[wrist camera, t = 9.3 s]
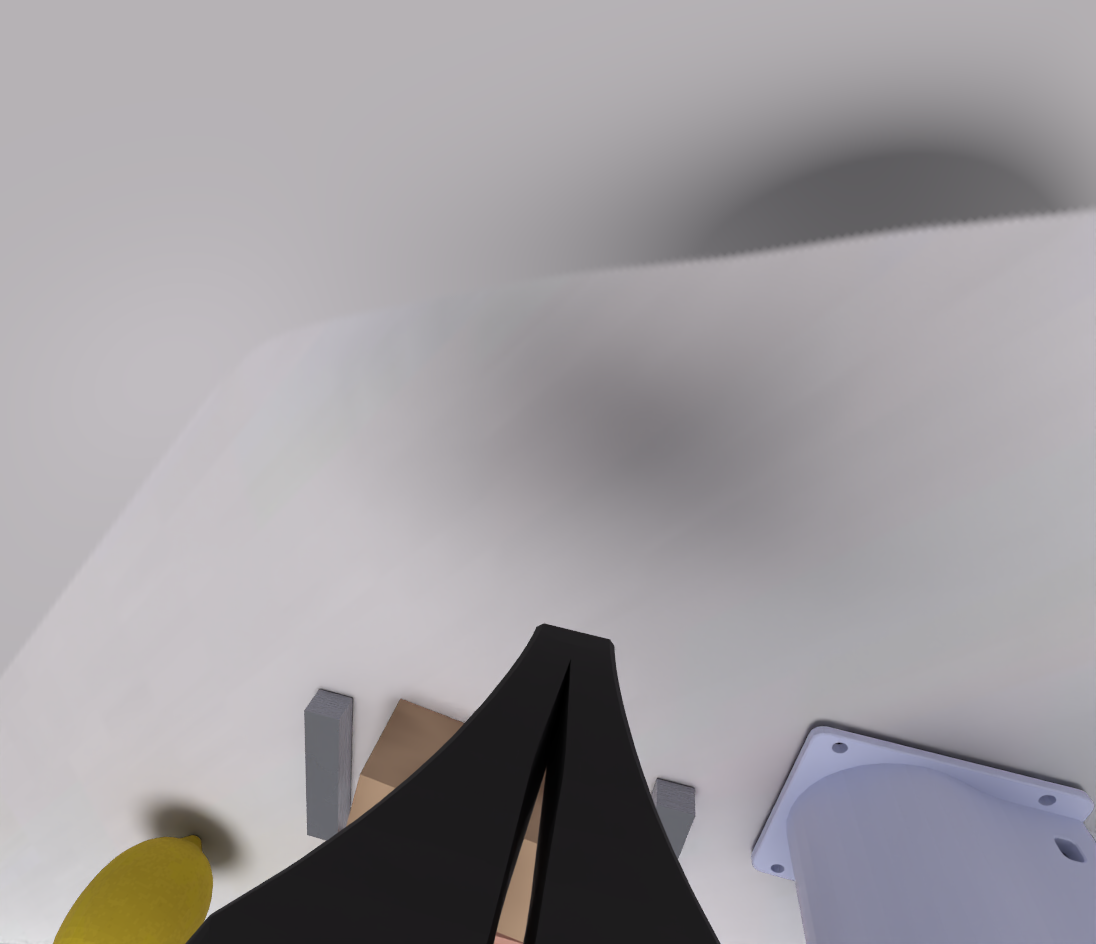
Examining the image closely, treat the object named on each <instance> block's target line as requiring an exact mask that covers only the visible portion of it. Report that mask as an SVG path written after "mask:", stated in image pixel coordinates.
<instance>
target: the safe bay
mask: <svg viewBox="0 0 1096 944" xmlns="http://www.w3.org/2000/svg"><path fill="white" fill-rule="evenodd" d="M352 704H353V698H351V697H347V696H343V695H339V694H336V693H332V692H328V691H324V690H320V689H319V690H318V692H317V693H316V695H315V696H314V697H313V699H312V700H311V702H310V703H309V705H308V706H307V707H306V709H305V710H304V717H305V759H306V801H307V835H309V836H313V837H316V838H320V839H323V840H328V839H330V838H331V837H332V836H334V835H335V834H337V833H338V832H339V831H341V830H342V829H344V828H345V827H346V825H347V821H348V818H349V814H350V791H351V747H352ZM651 796H652V799H653V802H654V804H655V807H656V809H657V812H658V815H659V817H660V820H661V822H662V824H663V827H664V829H665V831H666V834H667V836H668V838H669V841H670V843H671V846H672V848H673V850H674V852H675V855H676V857H677V859H678V858H679V855H680V853H681V850H682V848H683V845H684V843H685V840H686V838H687V835H688V833H689V830H690V827H691V825H692V822H693V820H694V817H695V795H694V788H691V787H688V786H684V785H680V784H676V783H672V782H669V781H665V780H661V779H657V780H656V783H655V786H654V789H653V792H652V795H651Z"/></svg>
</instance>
